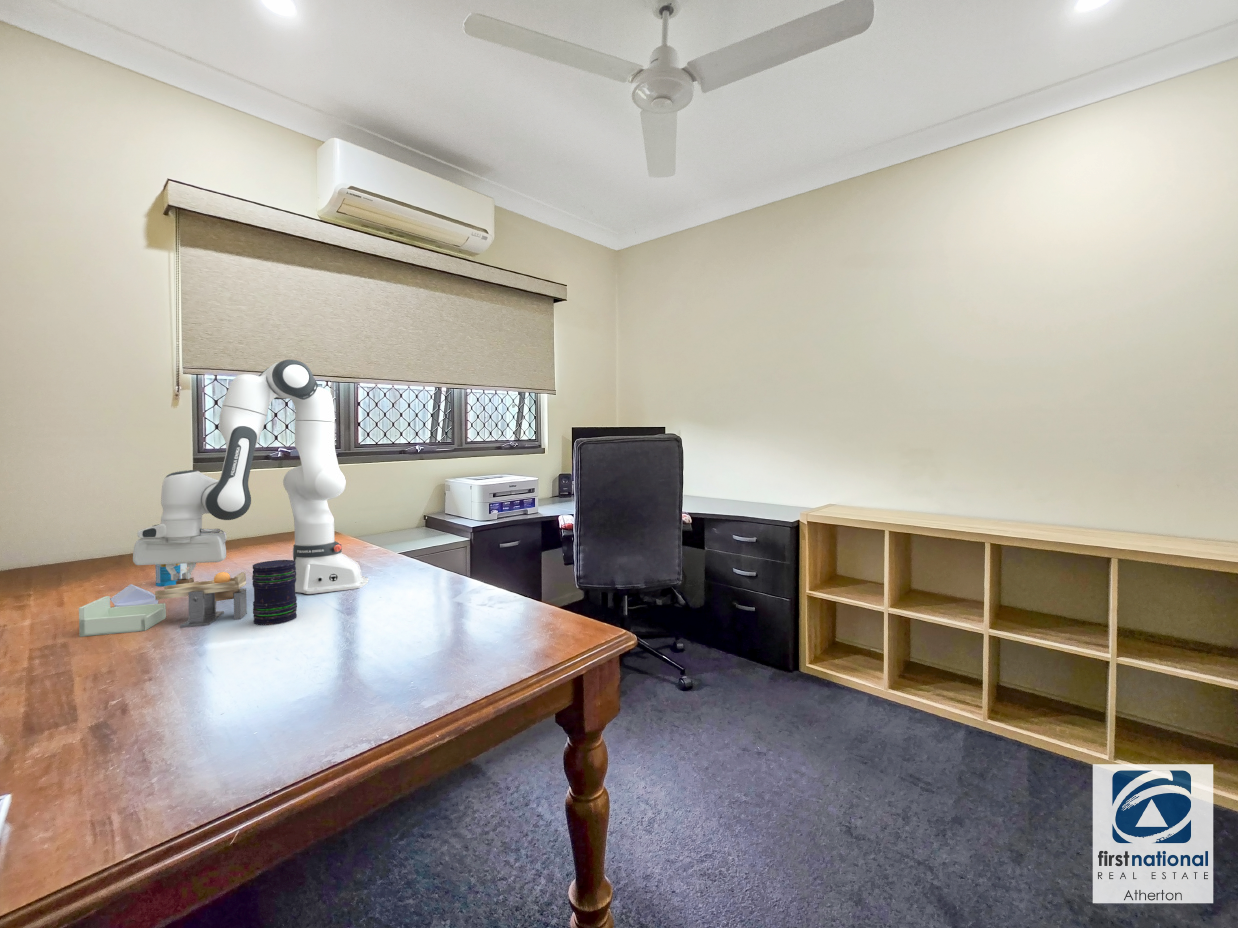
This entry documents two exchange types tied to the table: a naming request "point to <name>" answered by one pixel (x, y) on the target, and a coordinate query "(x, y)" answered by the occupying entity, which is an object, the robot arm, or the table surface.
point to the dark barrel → (274, 592)
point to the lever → (203, 588)
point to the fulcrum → (212, 608)
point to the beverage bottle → (168, 574)
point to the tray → (118, 617)
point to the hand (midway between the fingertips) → (180, 579)
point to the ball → (222, 577)
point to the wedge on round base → (133, 597)
